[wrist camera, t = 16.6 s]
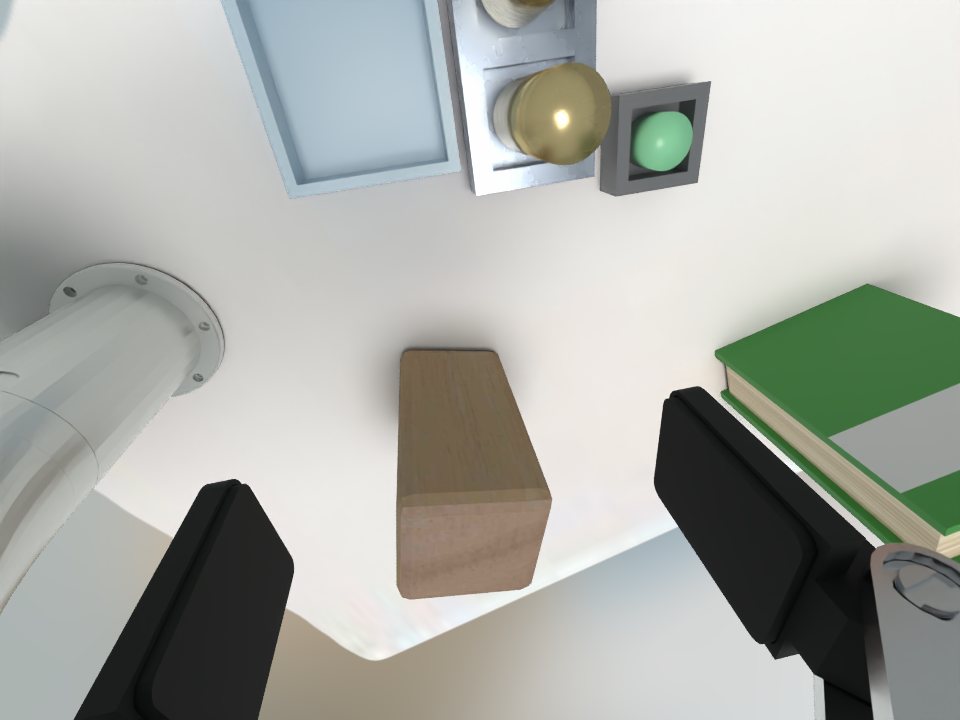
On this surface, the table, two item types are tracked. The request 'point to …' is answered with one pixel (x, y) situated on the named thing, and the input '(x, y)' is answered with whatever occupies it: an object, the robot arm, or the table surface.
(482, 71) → the metal compartment tray
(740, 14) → the table surface
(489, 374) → the wooden block
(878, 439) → the hardback book
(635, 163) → the button
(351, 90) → the tray
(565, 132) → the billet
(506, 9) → the billet
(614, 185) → the grey button housing
